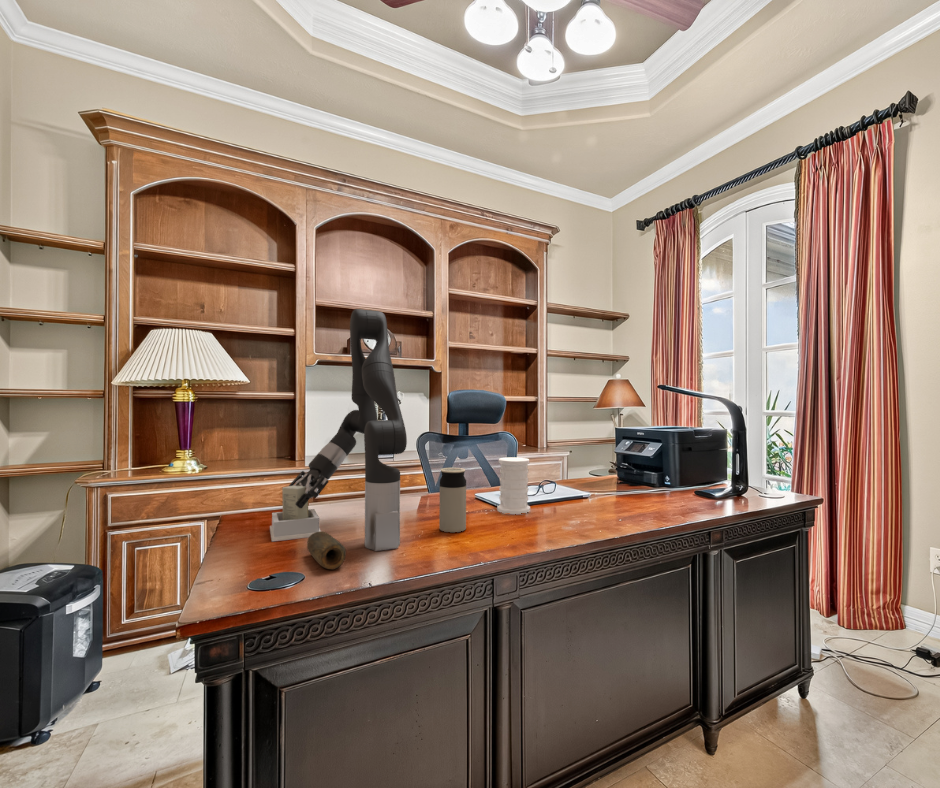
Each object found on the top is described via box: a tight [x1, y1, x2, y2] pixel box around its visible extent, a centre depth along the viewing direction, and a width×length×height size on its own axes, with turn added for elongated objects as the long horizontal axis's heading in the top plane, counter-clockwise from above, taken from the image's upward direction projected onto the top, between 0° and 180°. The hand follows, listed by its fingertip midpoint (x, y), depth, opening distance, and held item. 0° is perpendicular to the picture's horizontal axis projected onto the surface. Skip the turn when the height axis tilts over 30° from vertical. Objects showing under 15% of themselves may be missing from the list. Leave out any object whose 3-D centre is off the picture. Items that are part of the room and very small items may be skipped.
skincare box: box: [281, 485, 309, 520], centre depth 135 cm, size 6×4×12 cm
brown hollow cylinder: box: [306, 530, 347, 570], centre depth 111 cm, size 15×7×7 cm, turn 36°
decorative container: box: [496, 456, 531, 515], centre depth 163 cm, size 12×12×18 cm
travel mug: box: [438, 467, 467, 534], centre depth 139 cm, size 8×8×18 cm
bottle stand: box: [269, 508, 322, 542], centre depth 135 cm, size 13×13×5 cm
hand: (291, 504), depth 134 cm, fingers open, 8 cm apart
